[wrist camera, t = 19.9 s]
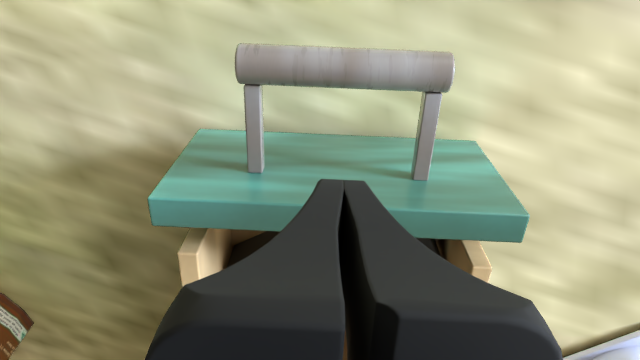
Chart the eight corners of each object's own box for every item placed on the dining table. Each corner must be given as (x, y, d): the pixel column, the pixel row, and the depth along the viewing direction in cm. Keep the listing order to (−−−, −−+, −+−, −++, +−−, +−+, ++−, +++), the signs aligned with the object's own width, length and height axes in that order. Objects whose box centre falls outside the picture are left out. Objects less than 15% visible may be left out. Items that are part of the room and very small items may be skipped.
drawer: (188, 22, 19) (121, 55, 13) (498, 34, 19) (573, 74, 13) (217, 318, 27) (184, 423, 21) (435, 328, 27) (463, 437, 21)
